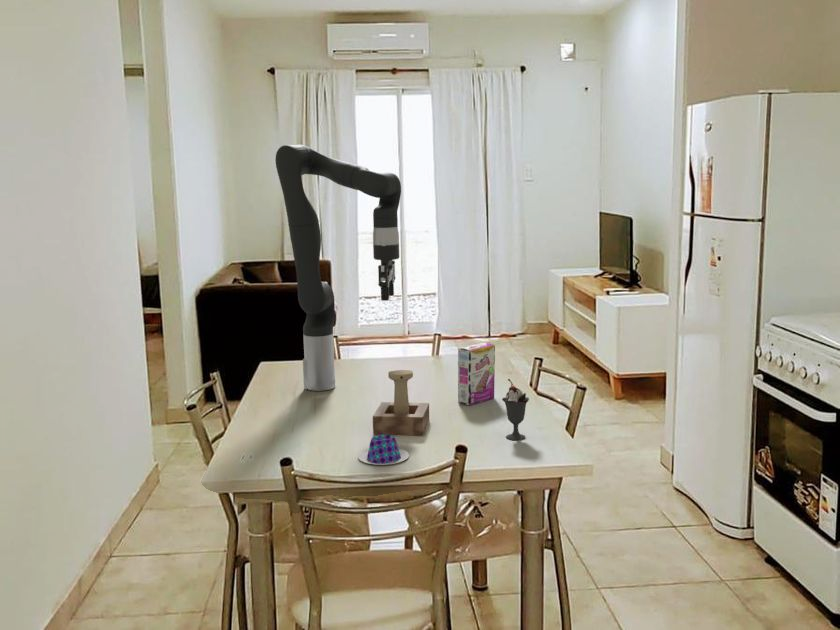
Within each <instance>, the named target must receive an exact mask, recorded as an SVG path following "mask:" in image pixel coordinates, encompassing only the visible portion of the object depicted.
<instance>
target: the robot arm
mask: <svg viewBox="0 0 840 630" xmlns="http://www.w3.org/2000/svg"><path fill="white" fill-rule="evenodd" d="M275 153H276V154H275V168H276V170H277V171H276V172H277V176H278V179H279V183H280V188H281V191H282V194H283V200H284V205H285V209H286V211H285V212H286V215H287V223H288V231H289V237H290V242H291V247H292V254H293V260H294V265H295V272H296V283H297V284H296V286H297V300H298V304H299V306H300V308H301V309H302V310H303V311H304V313H305V314H306V317H305V321H304V324H303V327H302V331H303V335H302V336H303V350H304V351H303V352H304V353H303V355H304V358H302V372H303V373H302V375H303V378H302V379H303V389H304V390H307V389H308V391H314V392H321V391H322V392H323V391H328V390H332V389H334V388H336V373H335V372H336V371H335V370H336V368H335V349H334V348H335V347H334V344H335V343H334V325H335V320H336V319H335V316H336V314H335V312H336V311H335V307H336V306H335V303H336V302H335V295H334V290H333V288H332V287H331V286H330V284H328V283H326V282H324V281H322V277H321V271H320V256H321V249H322V234H321V229H320V222H319V221H320V220H319V217H318V214H317V213H316V211H315V210H316V209H315V208H314V207H313V205H312V203H311V202H310V201H309V199H308V197H307V195H306V192H305V189H304V187H303V186H304V185H303V180H302V179H303V178H302V176H304V175H313V176H320V177H324V178H327V179H328V180H330V181H332V182H333V183H335V184H337V185H340V186H343V187H345V188H349V189H352V190H355V191H359V192H361V193H363V194H365V195H367V196H370V197H374V198H375V199H377V198H378V199H379V201H378V206H376V207H375V208H374V209H373V211H372V212H373V213H372V216H373V220H372V221H373V231H372V232H373V233H372V248H373V249H372V250H373V252H372V253H373V259H374V260H377V261H380V265H378V266H377V268H378V269H377V271H378V283H377V284H378V287H379V288H380V300H381V301H382V302H383V301H384V302H385V301H389V300H390V297H393V296H394V294H395V288H394V285H395V280H396V265H395V264H396V263H395V260H399V258H400V235H399V228H398V225H399V223H398V221H399V220H398V219H399V218H398V211H399V206H400V200H401V195H402V184H401V180H400V178H399V177H398V175H396V174H395V173H393V172H376V171H371V170H369V168H367V167H365V166H362V165H358V164H356V163H351V162H347V161H344V160H340V159H336V158H333V157H330V156H328V155H325V154H322V153H321V152H318V151H317V150H315V149H313V148H311V147H309V146H307V145H304V144H299V143H298V144H297V143H296V144H285V145H282V146H280V147H279V148H278V149H277V151H276V152H275Z"/></svg>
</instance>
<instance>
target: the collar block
mask: <svg viewBox="0 0 840 630" xmlns="http://www.w3.org/2000/svg"><path fill="white" fill-rule="evenodd" d="M429 423H430V403H429V402H409V414H394V401H391V402H390V401H387V402H385V401H383V402H382V401H381V403H380V404H379V406H378V407H377V409H376V411H374V414H373V415H372V435H373V436H377V435H392V436H399V437H400V436H401V437H402V436H405V437H407V436H408V437H412V436H413V437H424V435H425V433H426V430H427V428H428V426H429Z"/></svg>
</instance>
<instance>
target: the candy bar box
mask: <svg viewBox="0 0 840 630" xmlns="http://www.w3.org/2000/svg"><path fill="white" fill-rule="evenodd" d="M457 350H458V351H457V353H458V354H457V355H458V356H457V361H458V362H457V366H458V367H457V369H458V370H457V372H458V373H457V374H458V375H457V381H458V382H457V383H458V384H457V385H458V386H457V388H458V390H457V397H458V398H457V403H458V404H463V405H466V406H473V405H475V404H479V403H482V402H485V401H489V400H492V398H493V399H494V398H495V376H496V375H495V367H496V366H495V365H496V364H495V363H496V362H495V361H496V360H495V359H496V353H495V352H496V345H495V344H493V343H492V344H491V343H486V342H480V343H475V344H471V345H467V346H462V347H458V348H457Z"/></svg>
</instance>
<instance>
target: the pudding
mask: <svg viewBox="0 0 840 630" xmlns="http://www.w3.org/2000/svg"><path fill="white" fill-rule="evenodd" d="M409 456H410V454H409V453H408V452H407V451H406V450H404V449H402V448H399V445H398V442H397V439H396V437H395V436H394V435H373V437H371V439H370V442H369V446H368V449H366V450H363V451H362V452H361V453H359V455H358V457H357V458H358V459H359V460H360V462H363V463H365V464H369V465H377V466H384V465H386V466H388V465H393V464H399V463H402V462H403V461H405V460H407V459H408V458H409Z"/></svg>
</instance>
